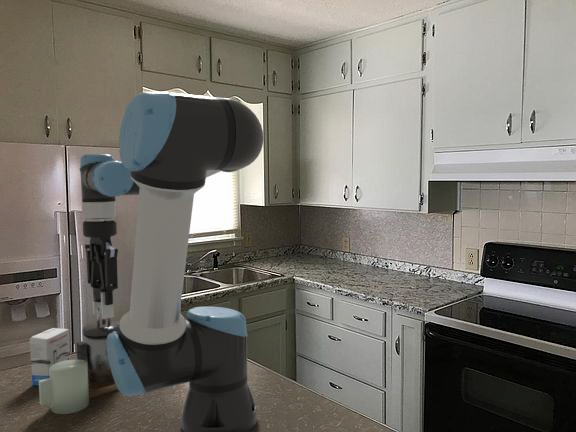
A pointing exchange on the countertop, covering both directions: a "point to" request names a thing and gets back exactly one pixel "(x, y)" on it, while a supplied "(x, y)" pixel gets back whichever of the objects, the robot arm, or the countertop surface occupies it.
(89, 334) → the glass french press
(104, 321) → the plunger
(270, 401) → the countertop surface
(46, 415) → the countertop surface
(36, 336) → the ink box
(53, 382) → the sage mug
